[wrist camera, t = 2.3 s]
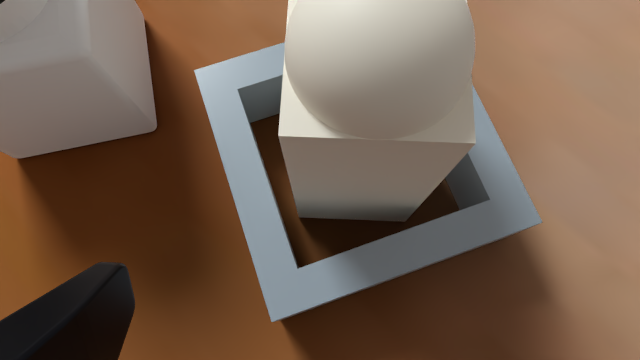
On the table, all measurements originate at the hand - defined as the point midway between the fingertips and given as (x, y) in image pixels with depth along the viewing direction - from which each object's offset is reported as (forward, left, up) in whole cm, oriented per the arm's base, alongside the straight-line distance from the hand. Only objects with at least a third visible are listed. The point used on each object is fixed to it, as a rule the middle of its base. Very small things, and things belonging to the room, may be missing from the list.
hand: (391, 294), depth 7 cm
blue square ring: (+2, +6, -13) cm, 14 cm away
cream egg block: (+2, +6, -13) cm, 14 cm away
